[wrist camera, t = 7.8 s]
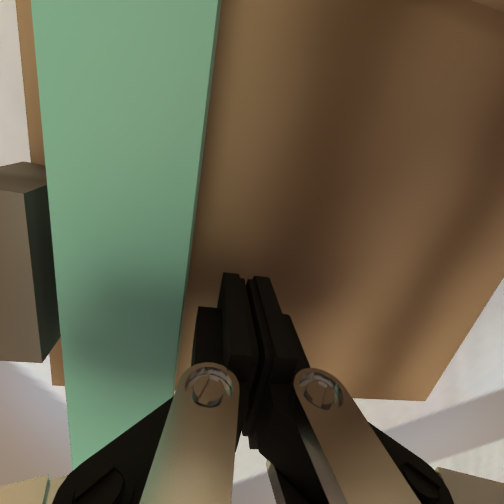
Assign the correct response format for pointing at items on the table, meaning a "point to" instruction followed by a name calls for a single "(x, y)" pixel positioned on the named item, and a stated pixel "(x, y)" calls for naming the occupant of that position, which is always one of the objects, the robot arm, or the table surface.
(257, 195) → the stool seat
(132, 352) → the folding leg
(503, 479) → the table surface
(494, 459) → the table surface
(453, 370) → the table surface
